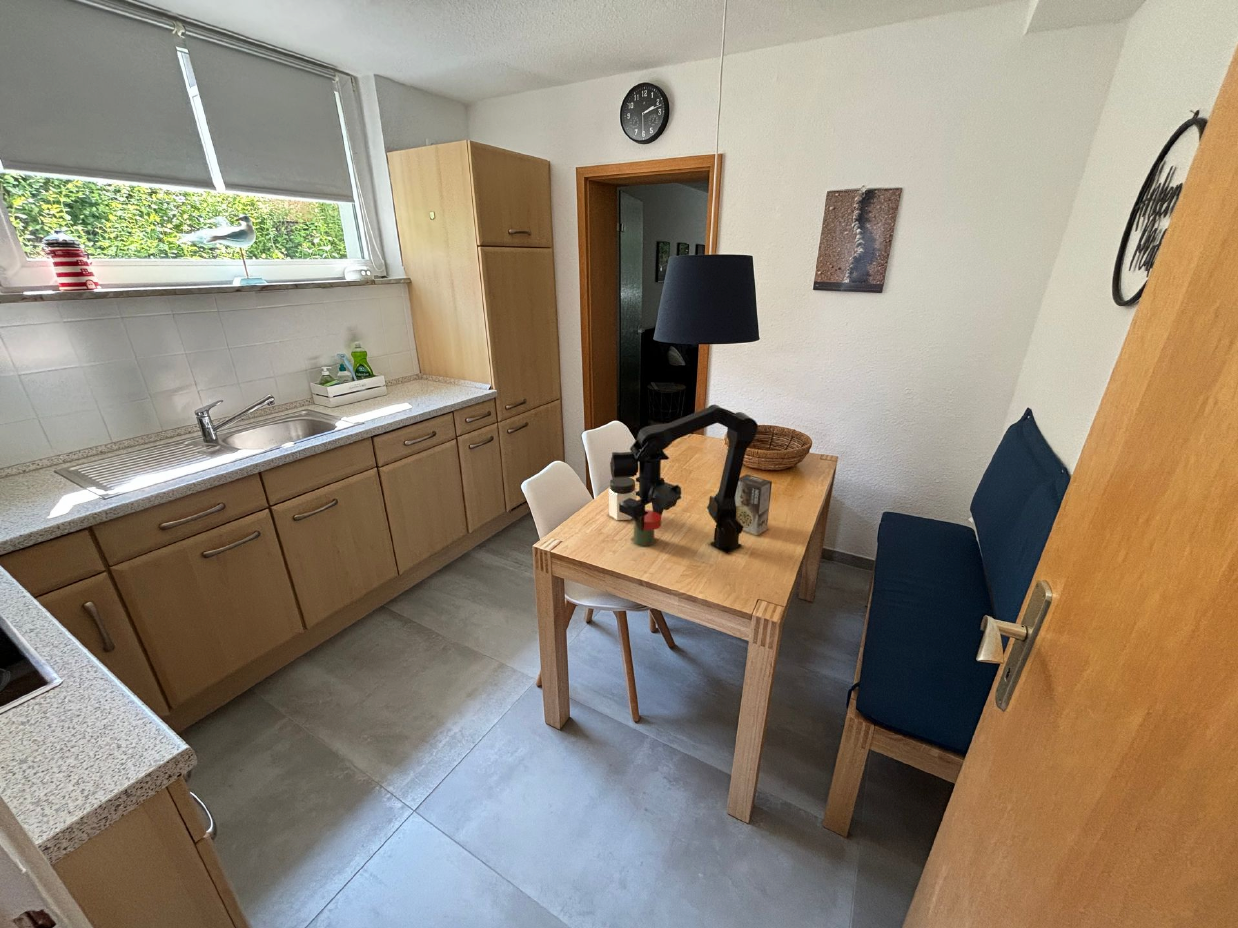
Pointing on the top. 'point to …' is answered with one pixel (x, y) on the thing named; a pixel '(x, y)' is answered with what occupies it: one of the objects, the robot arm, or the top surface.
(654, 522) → the lid
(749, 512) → the coffee box
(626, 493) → the jar
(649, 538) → the green jar
